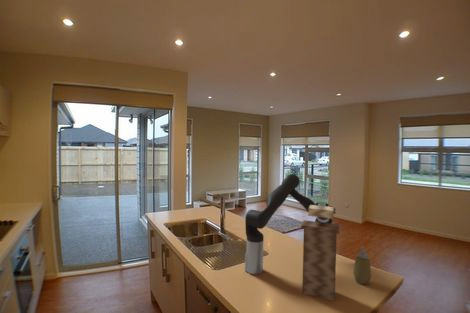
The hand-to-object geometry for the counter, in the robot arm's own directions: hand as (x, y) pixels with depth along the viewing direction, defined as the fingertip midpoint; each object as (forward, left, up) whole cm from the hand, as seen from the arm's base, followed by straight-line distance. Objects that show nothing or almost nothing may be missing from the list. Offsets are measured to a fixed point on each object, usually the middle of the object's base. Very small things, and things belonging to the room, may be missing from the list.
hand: (322, 204), depth 124 cm
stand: (0, -13, -39) cm, 41 cm away
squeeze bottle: (+20, +7, -39) cm, 45 cm away
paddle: (0, -4, -3) cm, 5 cm away
